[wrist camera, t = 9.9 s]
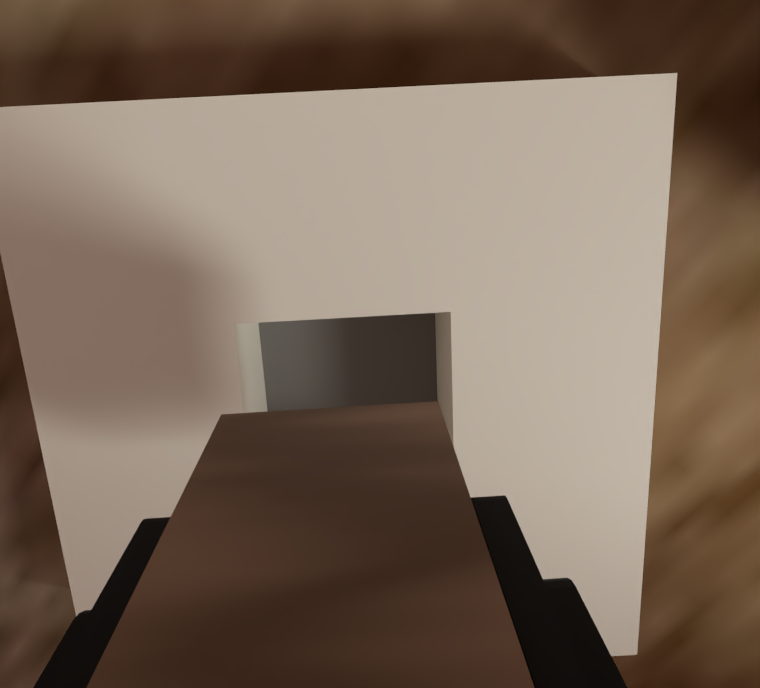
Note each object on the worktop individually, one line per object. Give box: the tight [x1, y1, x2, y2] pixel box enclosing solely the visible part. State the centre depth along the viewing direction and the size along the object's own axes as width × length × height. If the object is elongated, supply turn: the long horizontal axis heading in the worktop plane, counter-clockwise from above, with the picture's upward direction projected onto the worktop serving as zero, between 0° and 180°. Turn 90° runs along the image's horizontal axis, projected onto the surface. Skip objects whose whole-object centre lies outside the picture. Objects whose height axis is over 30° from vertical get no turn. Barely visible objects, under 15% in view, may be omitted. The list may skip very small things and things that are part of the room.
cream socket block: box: [0, 73, 677, 656], centre depth 19 cm, size 16×16×4 cm
